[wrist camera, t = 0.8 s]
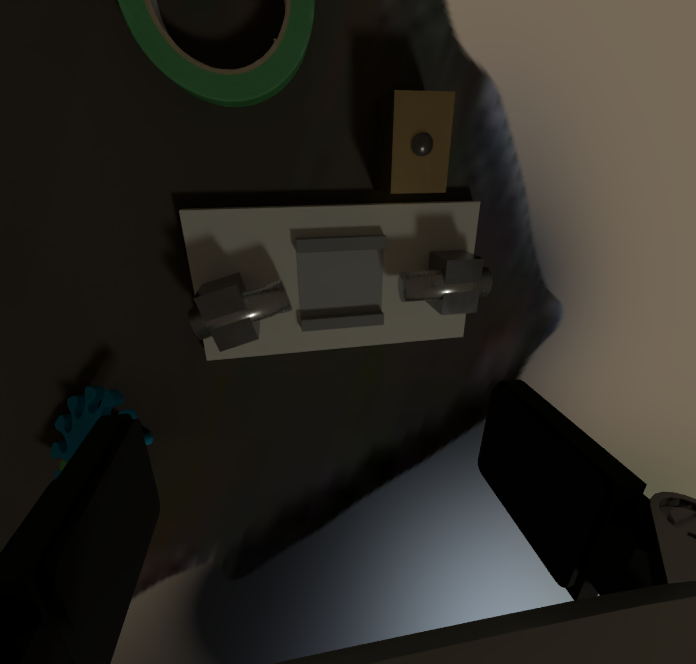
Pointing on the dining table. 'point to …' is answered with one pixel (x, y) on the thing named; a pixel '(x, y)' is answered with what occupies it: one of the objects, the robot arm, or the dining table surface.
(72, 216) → the dining table surface
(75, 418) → the dark teal lobed piece
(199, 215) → the mounting base plate
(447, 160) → the tan box with knob
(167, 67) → the tape roll
